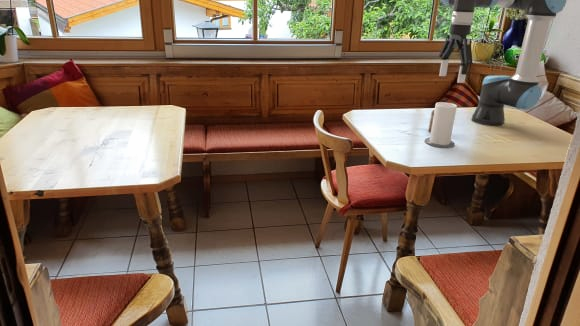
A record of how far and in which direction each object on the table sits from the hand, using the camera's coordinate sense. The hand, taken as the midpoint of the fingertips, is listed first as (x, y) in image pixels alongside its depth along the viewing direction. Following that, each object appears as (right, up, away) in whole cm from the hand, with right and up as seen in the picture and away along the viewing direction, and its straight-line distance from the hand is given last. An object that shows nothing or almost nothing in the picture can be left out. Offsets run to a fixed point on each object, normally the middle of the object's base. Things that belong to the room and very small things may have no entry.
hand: (451, 79), depth 172 cm
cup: (-2, -25, +9) cm, 26 cm away
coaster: (-2, -25, +9) cm, 27 cm away
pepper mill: (+1, -19, +24) cm, 31 cm away
